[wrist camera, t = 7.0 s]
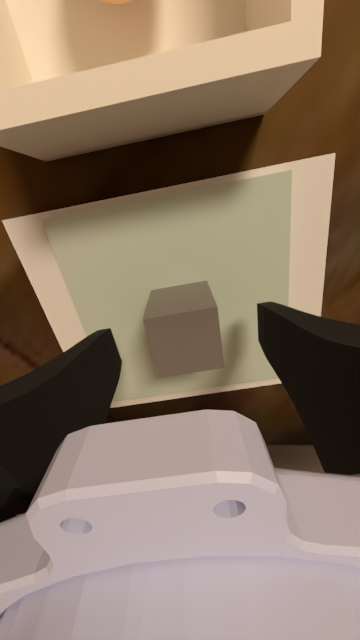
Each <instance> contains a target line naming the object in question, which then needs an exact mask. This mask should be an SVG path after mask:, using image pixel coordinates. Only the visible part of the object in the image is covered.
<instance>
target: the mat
mask: <svg viewBox="0 0 360 640" xmlns="http://www.w3.org/2000/svg"><path fill="white" fill-rule="evenodd" d="M334 164H335V153H333V154H328V155H323V156H318V157H313V158H308V159H303V160H298V161H293V162H288V163H283V164H278V165H273V166H268V167H264V168H259V169H254V170H249V171H244V172H239V173H234V174H229V175H224V176H219V177H214V178H209V179H204V180H199V181H194V182H190V183H185V184H180V185H175V186H170V187H165V188H160V189H155V190H150V191H145V192H140V193H135V194H130V195H125V196H120V197H116V198H111V199H106V200H101V201H96V202H91V203H86V204H81V205H76V206H71V207H66V208H61V209H56V210H51V211H47V212H42V213H37V214H32V215H27V216H22V217H17V218H12V219H7V220H2V222H3V224H4V226H5V229H6V231H7V233H8V235H9V237H10V239H11V241H12V244H13V246H14V248H15V250H16V252H17V254H18V256H19V259H20V261H21V263H22V265H23V267H24V269H25V271H26V273H27V276H28V278H29V280H30V282H31V284H32V286H33V288H34V291H35V293H36V295H37V297H38V299H39V301H40V303H41V306H42V308H43V310H44V312H45V314H46V316H47V318H48V321H49V323H50V325H51V327H52V329H53V331H54V333H55V335H56V338H57V340H58V342H59V344H60V346H61V348H62V350H63V352H65V351H67V350H68V349H70V348H71V347H72V346H74V345H75V344H77V343H78V342H80V341H81V340H83V339H84V338H86V337H87V334H86V331H85V329H84V326H83V324H82V321H81V319H80V316H79V314H78V311H77V308H76V306H75V303H74V301H73V298H72V296H71V293H70V291H69V288H68V286H67V283H66V281H65V278H64V276H63V273H62V271H61V268H60V266H59V263H58V261H57V258H56V256H55V253H54V251H53V248H52V246H51V243H50V241H49V238H48V236H47V233H46V231H45V228H44V226H43V223H42V221H41V219H46V218H51V217H56V216H61V215H66V214H71V213H76V212H81V211H86V210H91V209H96V208H102V207H107V206H112V205H117V204H122V203H127V202H132V201H137V200H142V199H147V198H152V197H157V196H162V195H167V194H172V193H177V192H182V191H187V190H192V189H197V188H202V187H207V186H212V185H218V184H223V183H228V182H233V181H238V180H243V179H248V178H253V177H258V176H263V175H268V174H273V173H278V172H283V171H288V170H292V187H291V225H290V263H289V301H288V307H291V308H294V309H297V310H300V311H303V312H306V313H309V314H313V315H316V316H320V317H321V308H322V296H323V285H324V274H325V263H326V252H327V241H328V230H329V219H330V208H331V197H332V186H333V175H334ZM280 383H282V382H281V381H280V379H279V378H274V379H267V380H260V381H253V382H247V383H240V384H233V385H226V386H219V387H212V388H205V389H198V390H191V391H184V392H177V393H170V394H164V395H157V396H150V397H143V398H136V399H129V400H122V401H115V402H114V401H113V400H112V403H111V406H110V408H114V407H121V406H128V405H135V404H141V403H148V402H155V401H162V400H169V399H176V398H183V397H190V396H197V395H204V394H211V393H218V392H224V391H231V390H238V389H245V388H252V387H259V386H266V385H273V384H280Z"/></svg>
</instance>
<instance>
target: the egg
mask: <svg viewBox="0 0 360 640" xmlns="http://www.w3.org/2000/svg"><path fill="white" fill-rule="evenodd" d="M101 1H103V2H106V3H111V4H124V3H127V2H130V1H132V0H101Z"/></svg>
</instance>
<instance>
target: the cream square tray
mask: <svg viewBox="0 0 360 640" xmlns="http://www.w3.org/2000/svg"><path fill="white" fill-rule="evenodd" d="M323 9H324V0H132V1H130V2H127V3H124V4H111V3H106V2H103V1H101V0H0V146H1V147H4V148H7V149H10V150H13V151H16V152H19V153H22V154H25V155H28V156H31V157H34V158H37V159H40V160H43V161H46V162H48V161H52V160H57V159H61V158H66V157H71V156H75V155H80V154H84V153H89V152H94V151H98V150H103V149H108V148H112V147H117V146H121V145H126V144H131V143H135V142H140V141H144V140H149V139H154V138H158V137H163V136H167V135H172V134H177V133H181V132H186V131H191V130H195V129H200V128H204V127H209V126H214V125H218V124H223V123H227V122H232V121H237V120H241V119H246V118H251V117H255V116H260V115H264V114H265V113H266V112H267V111H268V110H269V109H270V108H271V107H272V106H273V105H274V104H275V103H276V102H277V101H278V100H279V99H280V98H281V97H282V96H283V95H284V94H285V93H286V92H287V91H288V90H289V89H290V88H291V87H292V86H293V85H294V84H295V83H296V81H297V80H298V79H299V78H300V77H301V76H302V75H303V74H304V73H305V72H306V71H307V70H308V69H309V68H310V67H311V66H312V65H313V64H314V63H315V62H316V61H317V60H318V59H319V58H320V57H321V43H322V26H323Z"/></svg>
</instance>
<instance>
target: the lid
mask: <svg viewBox="0 0 360 640" xmlns="http://www.w3.org/2000/svg"><path fill="white" fill-rule="evenodd" d="M291 187H292V170H288V171H283V172H278V173H273V174H268V175H263V176H258V177H253V178H248V179H243V180H238V181H233V182H228V183H223V184H218V185H212V186H207V187H202V188H197V189H192V190H187V191H182V192H177V193H172V194H167V195H162V196H157V197H152V198H147V199H142V200H137V201H132V202H127V203H122V204H117V205H112V206H107V207H102V208H96V209H91V210H86V211H81V212H76V213H71V214H66V215H61V216H56V217H51V218H46V219H41V221H42V223H43V226H44V228H45V231H46V233H47V236H48V238H49V241H50V243H51V246H52V248H53V251H54V253H55V256H56V258H57V261H58V263H59V266H60V268H61V271H62V273H63V276H64V278H65V281H66V283H67V286H68V288H69V291H70V293H71V296H72V298H73V301H74V303H75V306H76V308H77V311H78V314H79V316H80V319H81V321H82V324H83V326H84V329H85V331H86V334H87V336H89V335H90V334H92V333H94V332H95V331H98V330H102V329H108V328H111V331H112V334H113V337H114V340H115V343H116V345H117V348H118V351H119V354H120V357H121V360H122V366H121V373H120V378H119V382H118V385H117V388H116V391H115V394H114V397H113V401H114V402H115V401H122V400H129V399H136V398H143V397H150V396H157V395H164V394H170V393H177V392H184V391H191V390H198V389H205V388H212V387H219V386H226V385H233V384H240V383H247V382H253V381H260V380H267V379H274V378H278V376H277V375H276V373H275V371H274V370H273V368H272V367H271V365H270V363H269V362H268V360H267V358H266V357H265V355H264V353H263V350H262V348H261V346H260V343H259V341H258V319H257V303H263V302H269V301H271V302H275V303H279V304H282V305H285V306H288V301H289V263H290V225H291Z"/></svg>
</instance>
